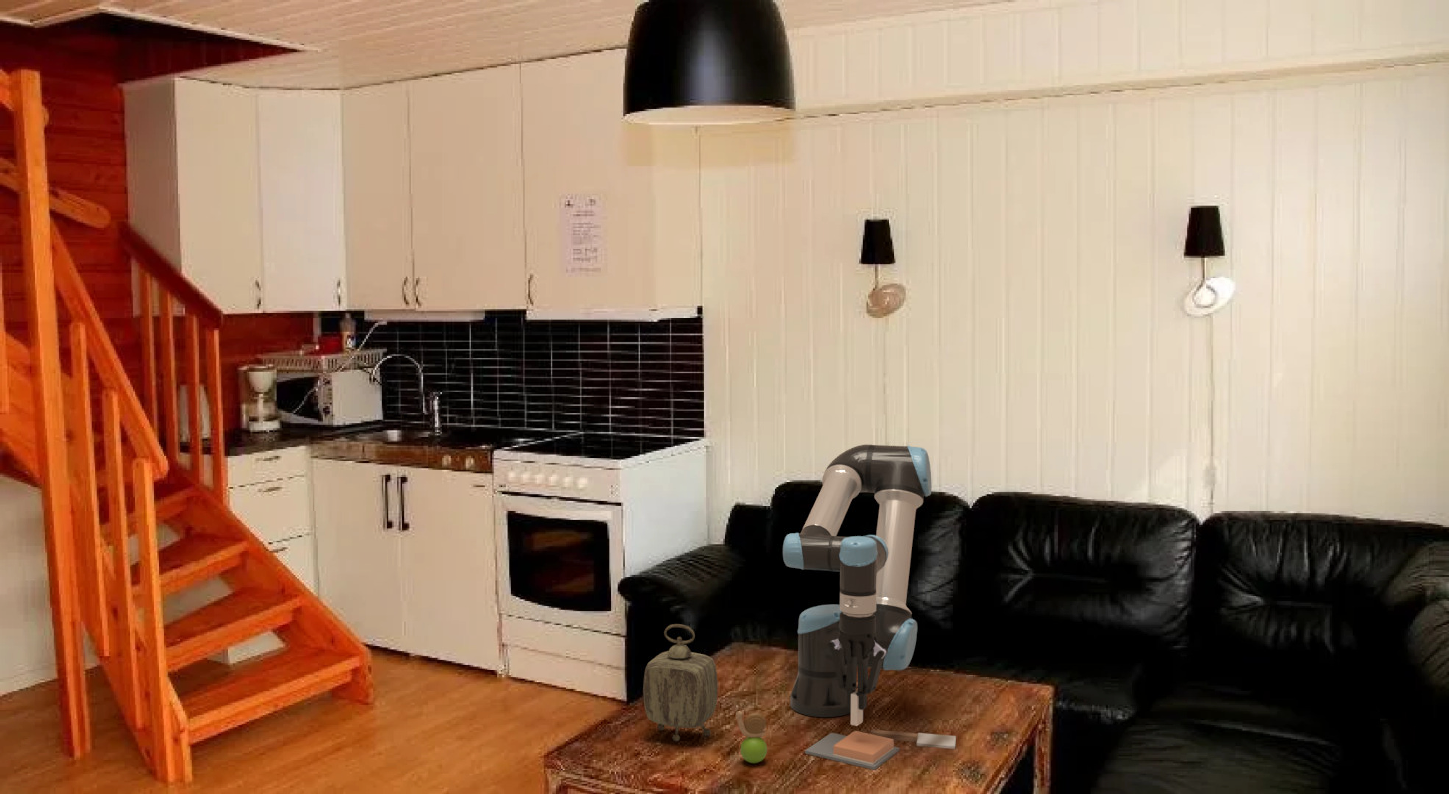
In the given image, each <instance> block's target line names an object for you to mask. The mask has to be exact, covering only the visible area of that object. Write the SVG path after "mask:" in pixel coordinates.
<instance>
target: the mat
mask: <svg viewBox="0 0 1449 794" xmlns="http://www.w3.org/2000/svg"><path fill="white" fill-rule="evenodd" d="M847 736H848V735H843V734H840V733H836V732H830V733H829V734H828V735H826V736H824V737H823V738H821V739H820V740H818V741H817V742H815V743H814V744H812V745H811V746H809V747H808V748H806V749H805V750H804V754H806V755H811V756H814V757H819V758H823V759H827V760H832V761H835V762H839V763H844V764H848V765H853V766H856V767H861V768H863V769H869V770H873V771H875V770H876V769H877V768H879V767H880V766H881V765H884V763H886V761H889V759H891V758H892V757H893V756H894V755H896V754H897V753H899V751H900V747H897V746H894V749H892V750H891V751H890V752H888V753H887V754H886V755H884V756H883V757H882V758H881V759H879V760H878V761H877V762H875V763H874V764H869V763H865V762H860V761H856V760H852V759H848V758H843V757H839V756H835V755H833V746H834V745H835V744H837V743H838V742H840V741H841V740H842V739H844V738H845V737H847Z"/></svg>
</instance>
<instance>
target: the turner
mask: <svg viewBox="0 0 1449 794" xmlns="http://www.w3.org/2000/svg"><path fill="white" fill-rule="evenodd" d="M870 734H872V735H877V736H881V737H886V738H890V739H894V741H901V742H902V741H903V742H911V743H912V742H913V743H914V742H915V743H916V747H929V748H938V749H939V748H940V749H952V750H955V749H956V742H957V741H956V739H957V736H956V735H946V734H937V733H936V734H935V733H924V732H918V733H913V732H906V731H905V732H903V731H892V730H880V729H871V730H870Z"/></svg>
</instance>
